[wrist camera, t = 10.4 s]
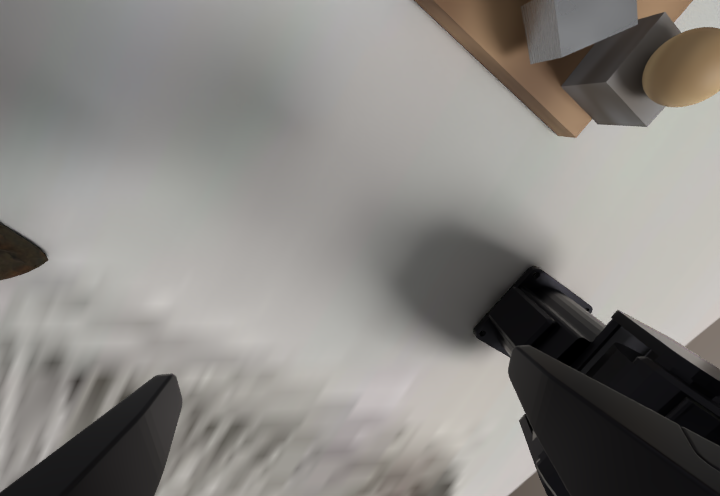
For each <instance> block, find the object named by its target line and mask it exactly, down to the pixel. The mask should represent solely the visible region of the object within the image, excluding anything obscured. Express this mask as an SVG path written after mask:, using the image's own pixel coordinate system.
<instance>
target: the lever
mask: <svg viewBox="0 0 720 496" xmlns="http://www.w3.org/2000/svg"><path fill="white" fill-rule="evenodd" d="M521 11H522V17H523V23H524V29H525V35H526V41H527V47H528V53H529V59H530V64H534V63H539V62H544V61H548V60H553V59H557V58H562V57H564V56H567V55H569V54H571V53H573V52H576V51H578V50H580V49H583V48H585V47H587V46H589V45H592V44H594V43H596V42H599V41H601V40H603V39H606V38H608V37H610V36H612V35H615V34H617V33H619V32H622V31H624V30H626V29H629V28H631V27H633V26H635V25H638V16H637V0H532V1H530V2H528V3H526V4H524V5H522V6H521Z"/></svg>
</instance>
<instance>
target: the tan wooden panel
mask: <svg viewBox="0 0 720 496" xmlns="http://www.w3.org/2000/svg"><path fill="white" fill-rule="evenodd" d="M414 1H415V2H417V3H418V4H419V5H420V6H421V7H422V8H423V9H424V10H425V11H426V12H427V13H428V14H429V15H430V16H431V17H433V18H434V19H435V20H436V21H437V22H438V23H439V24H440V25H441V26H442V27H443V28H444V29H445V30H446V31H447V32H448V33H450V34H451V35H452V36H453V37H454V38H455V39H456V40H457V41H458V42H459V43H460V44H461V45H462V46H463V47H464V48H465V49H467V50H468V51H469V52H470V53H471V54H472V55H473V56H474V57H475V58H476V59H477V60H478V61H479V62H480V63H481V64H483V65H484V66H485V67H486V68H487V69H488V70H489V71H490V72H491V73H492V74H493V75H494V76H495V77H496V78H497V79H498V80H500V81H501V82H502V83H503V84H504V85H505V86H506V87H507V88H508V89H509V90H510V91H511V92H512V93H513V94H514V95H515V96H517V97H518V98H519V99H520V100H521V101H522V102H523V103H524V104H525V105H526V106H527V107H528V108H529V109H530V110H531V111H533V112H534V113H535V114H536V115H537V116H538V117H539V118H540V119H541V120H542V121H543V122H544V123H545V124H546V125H547V126H548V127H550V128H551V129H552V130H553V131H554V132H555V133H556V134H557V135H558V136H565V137H574V138H576V137H577V136H578V135H579V134H580V133H581V131H582V130H583V129H584V128H585V127H586V125H587V124H588V123H589V122H590V121H591V120H592V119H593V120H594V121H595V122H596V123H597V124H604V125H623V126H642V127H647V126H648V125H649V124H650V123H651V122H652V121H653V120H654V119H655V117H656V116H657V115H658V114H659V113H660V112H661V111H662V110H663V109H664V108H665V106H667V107H683V106H689V105H693V104H696V103H699V102H701V101H704V100H706V99H708V98H709V97H711V96H713V95H714V94H716V93H717V92H719V91H720V29H719V28H713V27H703V28H695V29H692V30H688V31H685V32H683V33H681V32H680V31H679V29H678V28H677V27H676V25H675V24H674V22H675V21H676V19H677V18H678V17H679V16H680V15H681V14H682V12H683V11H684V10H685V9H686V8H687V7H688V5H689V4H690V3H691V2H692V1H693V0H637V16H638V25H635V26H633V27H631V28H629V29H626V30H624V31H622V32H619V33H617V34H615V35H612V36H610V37H608V38H606V39H603V40H601V41H599V42H596V43H594V44H592V45H589V46H587V47H585V48H583V49H580V50H578V51H576V52H573V53H571V54H569V55H567V56H564V57H562V58H557V59H553V60H548V61H544V62H539V63H534V64H530V59H529V53H528V47H527V41H526V35H525V29H524V23H523V17H522V11H521V6H522V5H524V4H526V3H528V2H530V1H532V0H414Z"/></svg>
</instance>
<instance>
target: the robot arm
mask: <svg viewBox="0 0 720 496" xmlns="http://www.w3.org/2000/svg"><path fill="white" fill-rule="evenodd" d="M535 272H536V274H535V275H534V276H533V274H534V273H535ZM591 312H592V307H591V306H590V305H589V304H587V303H586V302H585V301H583V300H582V299H581V298H579V297H578V296H577V295H575V294H574V293H572V292H571V291H570V290H568V289H567V288H566V287H564V286H563V285H562V284H560V283H559V282H557V281H556V280H555V279H553V278H552V277H551V276H549V275H548V274H547V273H545V272H544V271H542V270H541V269H540V268H538V267H536V266H533V267H530V268H529V269H528V270H527V271H526V272H525V273H524V274H523V275H522V276H521V278H520V279H519V280H518V281H517V282H516V283H515V284H514V285H513V286H512V287H511V289H510V290H509V291H508V292H507V293H506V294H505V295H504V296H503V297H502V298H501V300H500V301H499V302H498V303H497V304H496V305H495V306H494V307H493V308H492V309H491V310H490V312H489V313H488V314H487V315H486V316H485V317H484V318H483V319H482V320H481V321H480V323H479V324H478V325H477V326H476V327H475V328H474V331H473V332H474V335H475V336H476V337H477V338H478V339H479V340H481V341H483V342H484V343H486V344H488V345H490V346H491V347H493V348H495V349H496V350H498V351H500V352H502V353H503V354H505V355H507V356H508V357H510V363H509V368H508V374H509V378H510V380H511V382H512V385H513V387H514V389H515V391H516V393H517V396H518V398H519V400H520V402H521V404H522V407H523V409H524V411H525V413H526V414H524V415H523V417H522V418H521V419H520V420H519V422H520V425H521V427H522V430H523V433H524V436H525V439H526V441H527V444H528V447H529V450H530V453H531V455H532V458H533V461H534V464H535V467H536V469H537V472H538V475H539V478H540V480H541V482H542V484H543V487H544V488H545V491H546V493H547V495H548V496H720V369H719V368H717V367H716V366H714V365H713V364H711V363H710V362H708V361H706V360H705V359H703V358H702V357H700V356H698V355H697V354H695V353H694V352H692V351H691V350H689V349H687V348H686V347H684V346H683V345H681V344H679V343H678V342H676V341H675V340H673V339H671V338H670V337H668V336H666V335H664V334H662V333H660V332H658V331H657V330H655V329H653V328H651V327H649V326H647V325H645V324H643V323H642V322H640V321H638V320H636V319H634V318H632V317H630V316H629V315H627V314H625V313H623V312H621V311H619V310H617V311H616V312H615V313H614V315H613V316H612V317H611V318H612V320H611V321H610V322H609V323H608V324H607V325H605V324H604V323H602V322H601V321H600V320H598V319H597V318H596V317H594V316H593V315H592V314H591ZM481 331H483V332H481ZM480 332H481V333H480ZM181 408H182V396H181V392H180V389H179V385H178V381H177V378H176V376H175V375H174V374H162V375H156V376H155V377H153V378H152V379H150V380H149V381H148V382H146V383H145V384H144V385H142V386H141V387H140V388H138V389H137V390H136V391H134V392H133V393H132V394H131V395H129V396H128V397H127V398H125V399H124V400H123V401H121V402H120V403H119V404H117V405H116V406H115V407H113V408H112V409H111V410H109V411H108V412H107V413H105V414H104V415H103V416H101V417H100V418H99V419H97V420H96V421H95V422H93V423H92V424H91V425H89V426H88V427H87V428H85V429H84V430H83V431H81V432H80V433H79V434H77V435H76V436H75V437H73V438H72V439H71V440H69V441H68V442H67V443H65V444H64V445H63V446H61V447H60V448H59V449H57V450H56V451H55V452H53V453H52V454H51V455H49V456H48V457H47V458H46V459H44V460H43V461H42V462H40V463H39V464H38V465H36V466H35V467H34V468H32V469H31V470H30V471H28V472H27V473H26V474H24V475H23V476H22V477H20V478H19V479H18V480H16V481H15V482H14V483H12V484H11V485H10V486H8V487H7V488H6V489H4V490H3V491H2V492H0V496H154V495H155V492H156V490H157V487H158V485H159V482H160V479H161V477H162V474H163V471H164V468H165V465H166V461H167V458H168V454H169V451H170V447H171V444H172V440H173V437H174V433H175V429H176V426H177V422H178V419H179V415H180V412H181Z"/></svg>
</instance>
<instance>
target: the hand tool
mask: <svg viewBox="0 0 720 496" xmlns="http://www.w3.org/2000/svg"><path fill="white" fill-rule="evenodd" d="M47 261H48V258H47V257H46V255H45V253H42V251H41V250H40V249H39V248H38V247H36V246H35V245H33V244H32V243H30V242H29V241H27V240H26V239H24V238H23V237H21V236H19V235H17V234H16V233H15V232H13V231H12V230H11V229H9V228H8V227H6V226H4V225H1V224H0V280H4V279H8V278H12V277H15V276H18V275H22V274H24V273H27V272H29V271H31V270H33V269H35V268H37V267H39V266H41V265H42V264H44V263H45V262H47Z"/></svg>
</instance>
